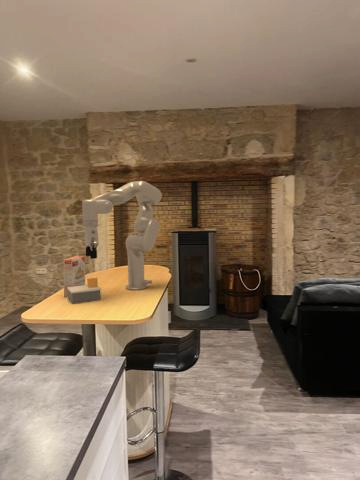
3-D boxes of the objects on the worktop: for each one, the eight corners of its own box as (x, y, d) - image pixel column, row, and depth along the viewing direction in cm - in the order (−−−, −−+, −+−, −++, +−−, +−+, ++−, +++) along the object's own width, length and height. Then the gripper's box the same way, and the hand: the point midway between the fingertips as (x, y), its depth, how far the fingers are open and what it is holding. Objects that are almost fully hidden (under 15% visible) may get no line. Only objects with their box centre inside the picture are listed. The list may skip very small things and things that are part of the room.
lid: (95, 287, 190) (94, 276, 189) (101, 291, 179) (100, 279, 179) (67, 290, 183) (66, 278, 182) (71, 295, 172) (71, 283, 172)
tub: (95, 296, 190) (94, 285, 189) (100, 301, 180) (100, 289, 179) (68, 300, 183) (67, 288, 182) (72, 305, 173) (72, 293, 173)
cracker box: (74, 298, 186) (72, 259, 184) (63, 298, 187) (62, 259, 185) (86, 292, 199) (85, 255, 197) (76, 292, 200) (75, 255, 199)
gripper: (102, 224, 174) (103, 258, 176) (93, 223, 189) (94, 255, 191) (87, 224, 171) (88, 260, 172) (79, 223, 186) (80, 255, 187)
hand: (91, 257), depth 181 cm, fingers open, 9 cm apart
